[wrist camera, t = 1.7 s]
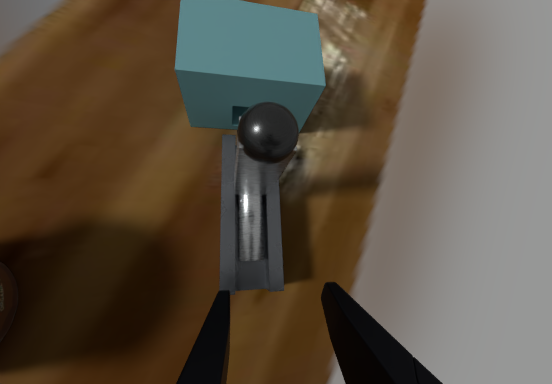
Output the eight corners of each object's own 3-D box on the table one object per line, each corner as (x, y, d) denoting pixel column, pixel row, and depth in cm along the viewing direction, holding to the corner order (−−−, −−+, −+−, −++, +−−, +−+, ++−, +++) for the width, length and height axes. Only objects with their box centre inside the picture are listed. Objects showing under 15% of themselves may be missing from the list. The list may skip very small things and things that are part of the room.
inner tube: (267, 259, 21) (319, 261, 9) (232, 261, 21) (238, 266, 9) (263, 141, 25) (298, 28, 12) (232, 139, 24) (238, 18, 12)
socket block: (298, 133, 27) (325, 85, 20) (190, 126, 25) (174, 69, 17) (294, 76, 29) (317, 14, 22) (194, 65, 27) (181, -10, 19)
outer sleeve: (276, 286, 22) (284, 290, 19) (220, 290, 21) (219, 295, 18) (270, 151, 26) (276, 137, 23) (222, 149, 25) (222, 134, 22)
